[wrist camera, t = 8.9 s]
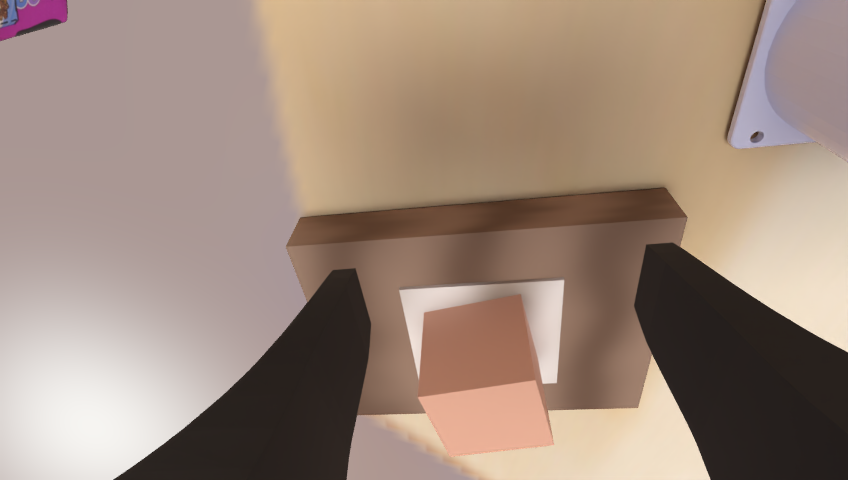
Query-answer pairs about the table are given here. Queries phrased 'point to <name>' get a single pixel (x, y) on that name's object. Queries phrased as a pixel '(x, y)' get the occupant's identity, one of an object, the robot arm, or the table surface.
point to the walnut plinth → (501, 285)
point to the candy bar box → (30, 16)
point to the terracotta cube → (483, 378)
